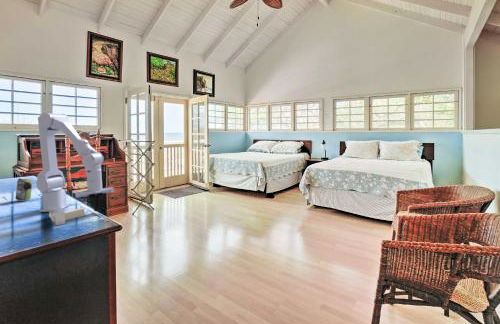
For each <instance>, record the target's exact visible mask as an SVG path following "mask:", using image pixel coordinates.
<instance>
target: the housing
mask: <svg viewBox="0 0 500 324" xmlns="http://www.w3.org/2000/svg"><path fill="white" fill-rule="evenodd" d="M51 214H53V219H54V222H53V223H54V225H55V226H61V225H64V224H66V220H65V211H64V209H61V208H60V207H59V206H58V205H52V206H49V212H48V215H49V217H48V218H50V220H51V221H52V217H51Z"/></svg>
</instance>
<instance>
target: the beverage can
mask: <svg viewBox="0 0 500 324" xmlns="http://www.w3.org/2000/svg"><path fill="white" fill-rule="evenodd" d="M16 182H17V183H16V190H15V199H16V200H17V201H20V202H21V201H22V202H25V201H29V200H31V197H32V188H33V187H32V186H33V180H32V178H31V177H18V179H17V180H16Z"/></svg>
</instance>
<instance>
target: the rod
mask: <svg viewBox="0 0 500 324" xmlns="http://www.w3.org/2000/svg"><path fill="white" fill-rule="evenodd" d="M64 212H65V221H68V220H71V219H76V218H79V217H83V216H85V215H86V214H85V213H86V212H85V208H81V207H80V208H75V209H70V210H67V211H64ZM51 217H52V220H51V222H53V223H54V219H53V214H51Z"/></svg>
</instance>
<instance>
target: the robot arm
mask: <svg viewBox="0 0 500 324" xmlns="http://www.w3.org/2000/svg"><path fill="white" fill-rule="evenodd" d="M37 121H38V122H37V123H38V124H37V125H38V134H39V143H40V144H39V145H40V154H41V163H42V170H41V171H40V172H39V173H38V174H37V176H36V177H37V179H36V187H37V190H39V192H40V193H41V194H42V195H41V196H42V205H43V208H42V209H39V210H38V212H39V213H42V212H43V213H47V212H48V213H49V206H52V205H58V206H59V207H60V208H61V209H62V210H64V209H65V208H68V207H69V204H67V202H68V201H67V194H66V191H65V190H64V187H65V185H66V179H65V176H64V173H63V171H61V170H60V169H59V166H58V158H57V147H56V138H55V135H56V134H57V133H58V132H60V131H61V132H62V133H63V134H64V135H65V136H66V137H67V138H68V139H69V140H70V141H71V142H72V143H73V145H72V148H73V149H74V150H75V151H76V152H77V153H78V154H79V156H80V157H81V158H82V159H81V162H82V165H83V166H84V170H85V174H86V185H87V186H86V187H87V190H81V191H77V192H75V198H81V197H87V198H88V199H89V201H90V203H91V205H92V208H93V211H94V212H99V211H100V206H101V203H102V201H103V198H104V194H108V193H114V189H115V188H114V187H104V188H103V178H102V177H103V175H102V165H103V163H104V162H105V161H104V160H105V158H104V155H103V154H102V153H101V152H100V151H97V150H96V149H94V148H93V147H92V146H91V144H90V143H89V140H87V139H85V138H81V136H80V135H79V133H78V132H77V130H76V129H75V128H74V126H73V125H72V120H71V119H70V118H69V116H68V115H67V114H65V113H51V112H42V113H40V115H39V116H38V117H37Z"/></svg>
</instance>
